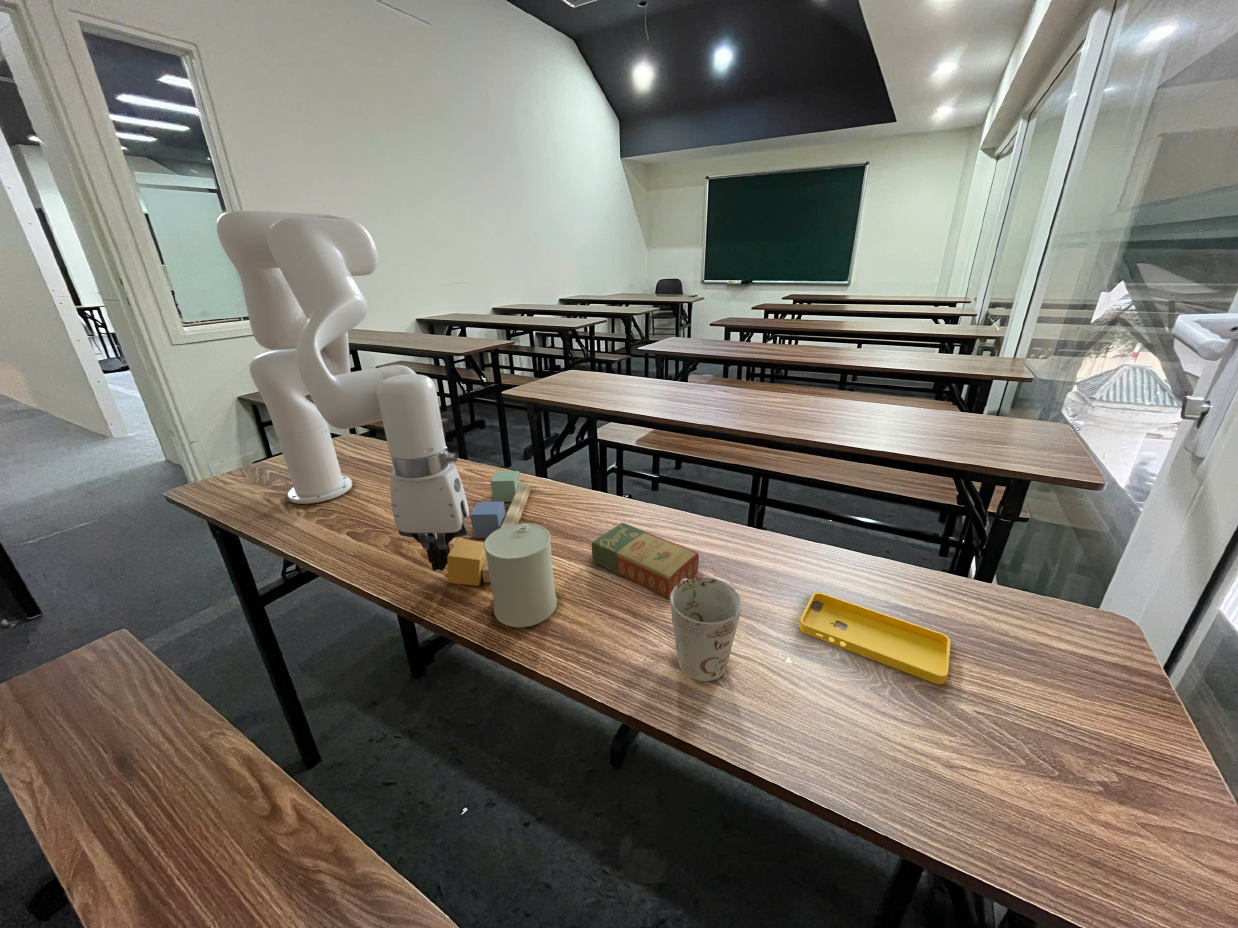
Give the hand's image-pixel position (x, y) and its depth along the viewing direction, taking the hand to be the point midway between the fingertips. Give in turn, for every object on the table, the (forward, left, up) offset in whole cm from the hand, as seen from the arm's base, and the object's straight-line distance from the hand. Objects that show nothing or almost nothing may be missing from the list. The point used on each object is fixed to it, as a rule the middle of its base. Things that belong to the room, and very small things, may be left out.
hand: (441, 565), depth 77 cm
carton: (+13, +30, -3) cm, 33 cm away
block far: (-23, +17, -2) cm, 29 cm away
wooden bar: (-9, +14, -2) cm, 17 cm away
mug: (+32, +27, -3) cm, 42 cm away
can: (+13, +10, -3) cm, 17 cm away
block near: (+2, +4, -2) cm, 4 cm away
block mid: (-11, +10, -2) cm, 15 cm away
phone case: (+41, +49, -3) cm, 64 cm away
